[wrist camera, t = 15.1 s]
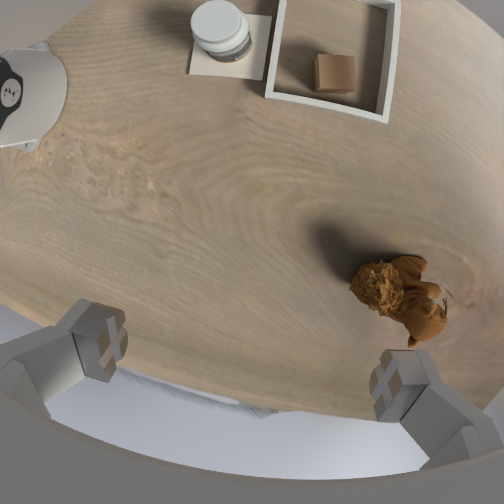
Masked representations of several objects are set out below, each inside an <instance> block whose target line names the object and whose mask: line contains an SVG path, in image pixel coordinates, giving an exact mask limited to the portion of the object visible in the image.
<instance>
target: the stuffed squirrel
mask: <svg viewBox="0 0 504 504" xmlns="http://www.w3.org/2000/svg"><path fill="white" fill-rule="evenodd" d="M427 265H428V264H427V261H426V260H424V259H422V258H418V257H413V256H401V257H398V258H396V259H394V260H392V261H390V262H389V263H384V262H382V259H381V261H380V264H379V263H378V264H376V263H374V262H372V263H371V264H368V263H367V264H365V265H362V266H361V267H360V268H359V270H358V271H357V274H356V275H355V276H354V277H353V280H352V282H351V283H350V284H351V285H350V289H349V290H350V291H352V292H353V293H354V294H355V295H356V296H357V298H358V300H360V302H362V303H364V304H366V305H369V307H368V308H369V309H373V311H376V310H378V311H379V314H380V316H382V315H383V316H386V317H390V318H392V319H393V320H395V321H397V322H400V323H403V324H404V325H405V327H406V328H407V329H408V331H409V333H410V337H409V340H408V347H409V348H414V347H416V346H417V345H418V343H419V341H427V340H430V339H431V338H433V337H435V336H437V335H438V334H440V333H441V332H442V331H443V330H444V329H445V327H446V326H447V306H448V305H447V306H446V303H447V297H446V302H445V300H444V299H442V300H443V302H444V304H445V311H444V310H443V309H442V308H441V307H440V306H439V305H438V304H437V303H436V302H434V301H433V300H431V299H434V298H438V297H439V296H440V294H441V289H440V287H439V286H438V285H437V284H435V283H431V282H423V281H420V279H421V273H423V272H424V271H425V270H426V268H427Z"/></svg>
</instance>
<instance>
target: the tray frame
mask: <svg viewBox="0 0 504 504" xmlns="http://www.w3.org/2000/svg"><path fill="white" fill-rule="evenodd" d="M357 1H360V2H364V3H367V4H370V5H374V6H377V7H380V8H383V9H386V10H387V21H386V33H385V44H384V53H383V62H382V70H381V78H380V85H379V92H378V99H377V105H376V112H375V113H371V112H367V111H364V110H360V109H356V108H352V107H348V106H344V105H340V104H336V103H331V102H327V101H322V100H317V99H312V98H307V97H302V96H296V95H290V94H284V93H278V92H273V90H274V84H275V77H276V70H277V64H278V57H279V51H280V44H281V38H282V31H283V25H284V18H285V12H286V5H287V0H280V2H279V8H278V14H277V20H276V27H275V33H274V40H273V46H272V52H271V59H270V65H269V72H268V79H267V85H266V92H265V99H267V100H273V101H280V102H286V103H292V104H298V105H303V106H309V107H314V108H319V109H323V110H328V111H333V112H337V113H341V114H346V115H350V116H354V117H358V118H361V119H365V120H369V121H373V122H376V123H381V124H388V119H389V113H390V107H391V100H392V94H393V86H394V79H395V71H396V62H397V53H398V42H399V29H400V13H401V1H400V0H357Z"/></svg>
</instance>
